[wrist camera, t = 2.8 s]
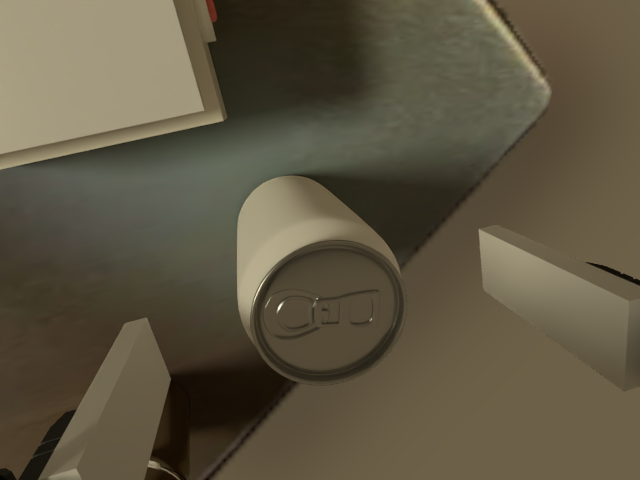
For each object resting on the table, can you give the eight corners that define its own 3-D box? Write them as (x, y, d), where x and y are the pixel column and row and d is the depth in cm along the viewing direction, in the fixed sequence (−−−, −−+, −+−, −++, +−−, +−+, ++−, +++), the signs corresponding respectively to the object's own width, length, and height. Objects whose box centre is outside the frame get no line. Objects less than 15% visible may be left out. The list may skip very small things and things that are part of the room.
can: (235, 173, 24) (232, 230, 12) (342, 173, 25) (428, 225, 14) (239, 276, 26) (240, 405, 14) (338, 271, 27) (410, 386, 16)
